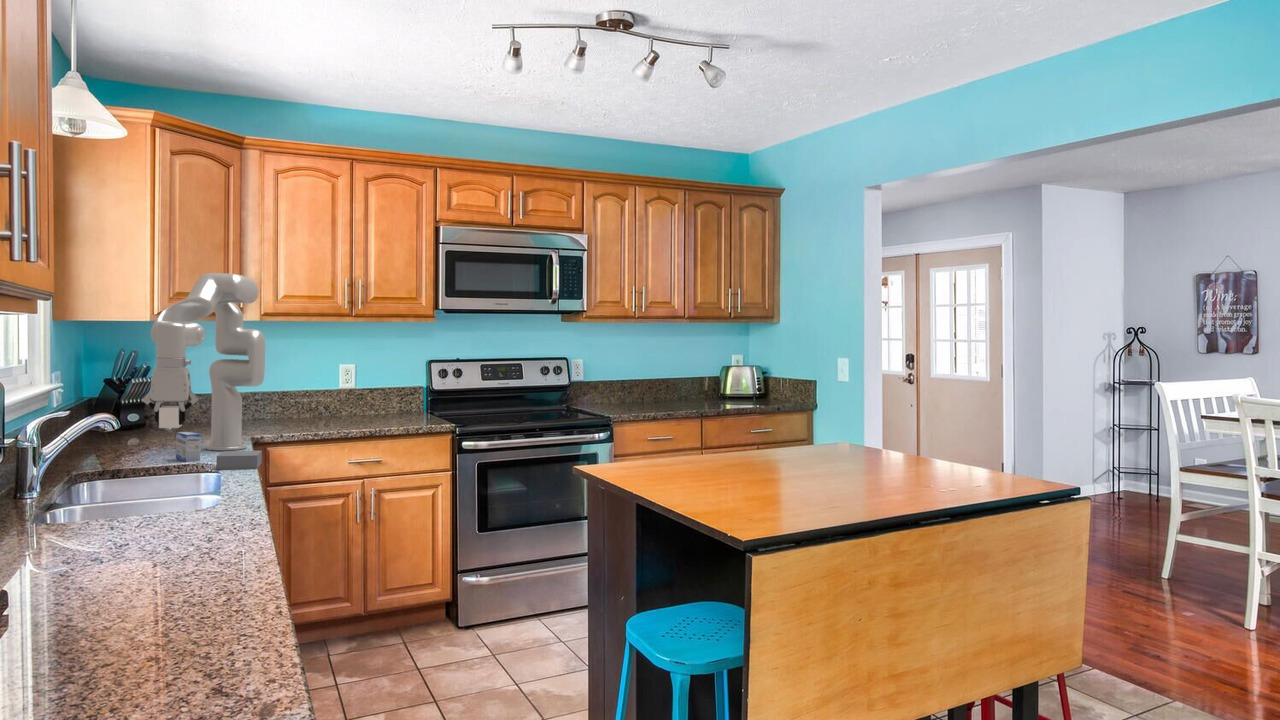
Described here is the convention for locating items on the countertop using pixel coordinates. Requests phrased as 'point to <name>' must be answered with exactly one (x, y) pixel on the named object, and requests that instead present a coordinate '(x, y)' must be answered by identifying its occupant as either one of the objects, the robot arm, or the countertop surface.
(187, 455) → the medicine box
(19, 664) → the countertop surface
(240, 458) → the plinth
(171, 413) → the cube
